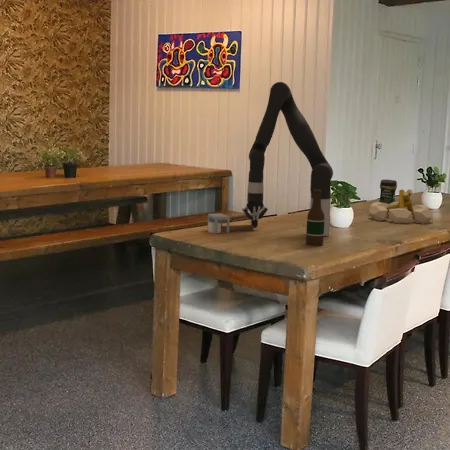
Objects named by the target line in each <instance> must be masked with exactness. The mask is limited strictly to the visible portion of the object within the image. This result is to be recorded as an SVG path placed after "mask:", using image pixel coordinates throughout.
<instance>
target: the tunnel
mask: <svg viewBox="0 0 450 450" xmlns="http://www.w3.org/2000/svg"><path fill="white" fill-rule="evenodd" d="M224 220H226V226H227V229H226V232H225V233H226V234H230V232H229V226H231V225H230V223H231V222H230V221H231V216H229V215H226V214H224V213H221V212H220V213H208V214H207V223H208V222H215V229H214V233H213V234H218V233H217V225H218V222H220V223H221V226H223V221H224ZM206 228H207V231H208V225H207V227H206Z"/></svg>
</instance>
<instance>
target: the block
mask: <svg viewBox="0 0 450 450" xmlns="http://www.w3.org/2000/svg"><path fill="white" fill-rule="evenodd" d="M207 226H208V230H207V232H208V233H211V234H215V233H214V229H215V222H208V221H207ZM218 233H219V234H220V233H222V232H221V223H220V222H218V225H217V234H218Z"/></svg>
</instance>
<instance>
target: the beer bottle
mask: <svg viewBox="0 0 450 450" xmlns="http://www.w3.org/2000/svg"><path fill="white" fill-rule="evenodd" d="M313 192H314V195H313V204H312V208H311V209H310V208H309V210H308V213H307V218H306V232H305V233H306V234H305V244H306V245H308V246H310V247H314V246H315V247H321V246H324V237H325V236H324V221H325V218H324V213H323V211H322V209H321V193H322V191H321V190H320V189H314V191H313Z"/></svg>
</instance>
